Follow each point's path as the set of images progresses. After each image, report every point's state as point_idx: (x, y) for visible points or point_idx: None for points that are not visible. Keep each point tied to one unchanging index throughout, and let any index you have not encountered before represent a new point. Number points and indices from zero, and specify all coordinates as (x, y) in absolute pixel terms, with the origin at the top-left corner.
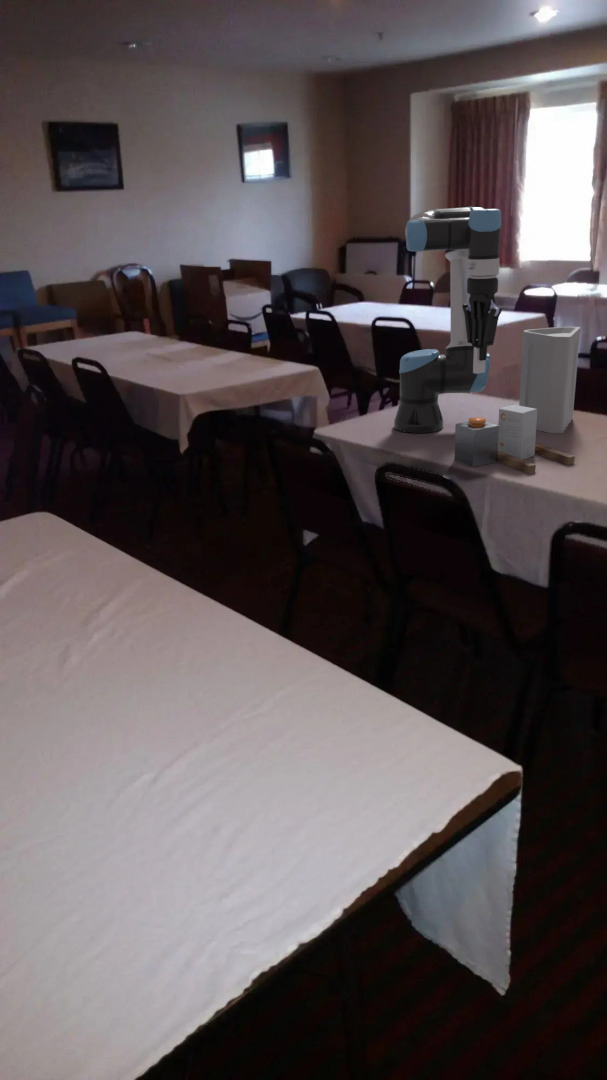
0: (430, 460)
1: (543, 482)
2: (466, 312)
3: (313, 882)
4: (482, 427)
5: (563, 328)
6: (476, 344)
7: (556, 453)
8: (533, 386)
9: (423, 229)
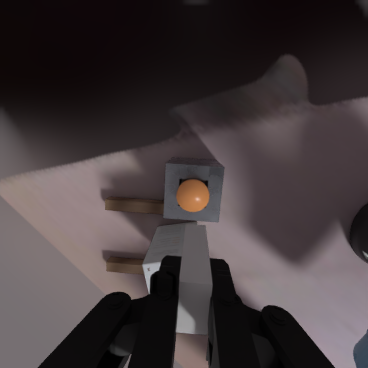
0: (238, 130)
1: (72, 185)
2: None
3: None
4: (171, 187)
5: None
6: (210, 310)
7: (129, 264)
8: None
9: None
